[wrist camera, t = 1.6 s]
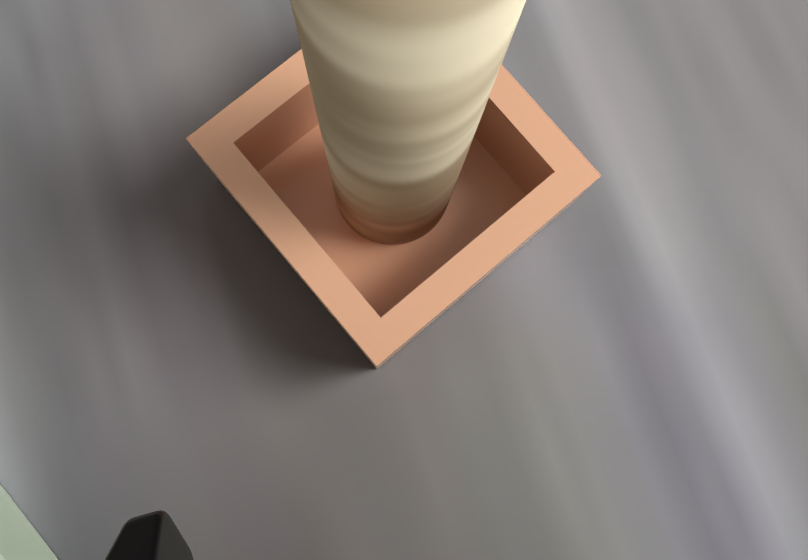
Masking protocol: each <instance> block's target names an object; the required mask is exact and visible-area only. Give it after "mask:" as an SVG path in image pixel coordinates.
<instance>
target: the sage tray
mask: <svg viewBox="0 0 808 560" xmlns="http://www.w3.org/2000/svg"><path fill="white" fill-rule="evenodd" d="M0 560H58V559H57V557H56V556H55V555H54V553H53V552H52V551H51V550H50V548H49V547H48V546H47V544H46V543H45V542H44V540H43V539H42V538H41V537H40V535H39V534H38V533H37V531H36V530H35V529H34V527H33V526H32V525H31V524H30V522H29V521H28V520H27V518H26V517H25V516H24V514H23V513H22V512H21V511H20V509H19V508H18V507H17V505H16V504H15V503H14V501H13V500H12V499H11V498H10V496H9V495H8V494H7V492H6V491H5V490H4V488H3V487H2V486H1V485H0Z"/></svg>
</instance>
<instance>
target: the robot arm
mask: <svg viewBox="0 0 808 560" xmlns="http://www.w3.org/2000/svg"><path fill="white" fill-rule="evenodd" d="M105 560H193V556H192V553H191V551H190V549H189V547H188V545H187V543H186V542H185V540H184V539H183V537H182V535H181V534H180V532H179V530H178V529H177V527H176V525H175V524H174V522H173V521H172V519H171V517H170V516H169V515H168V514H167V513H166V512H165V511H162V510H161V511H155V512H151V513H148V514H144V515H141V516H137V517H134V518H132V519H130V520H129V521H127V522H126V523H125V525H124V526H123V528H122V529H121V531H120V533H119V535H118V537H117V538H116V540H115V542H114V544H113V546H112V548H111V549H110V551H109V553H108V555H107V557H106V558H105Z"/></svg>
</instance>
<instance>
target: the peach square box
mask: <svg viewBox="0 0 808 560" xmlns="http://www.w3.org/2000/svg"><path fill="white" fill-rule="evenodd" d="M186 139H187V141H188V142H189V143H190V144H191V146H192V147H193V148H194V150H195V151H196V152H197V153H198V155H199V156H200V157H201V158H202V160H203V161H204V162H205V164H206V165H207V166H208V167H209V169H210V170H211V171H212V172H213V174H214V175H215V176H216V178H217V179H218V180H219V181H220V182H221V184H222V185H223V186H224V187H225V188H226V190H227V191H228V192H229V193H230V194H231V196H232V197H233V198H234V199H235V200H236V201H237V203H238V204H239V205H240V206H241V207H242V209H243V210H244V211H245V212H246V213H247V215H248V216H249V217H250V218H251V219H252V221H253V222H254V223H255V224H256V225H257V227H258V228H259V229H260V230H261V231H262V233H263V234H264V235H265V236H266V237H267V239H268V240H269V241H270V242H271V243H272V244H273V246H274V247H275V248H276V249H277V250H278V252H279V253H280V254H281V255H282V256H283V258H284V259H285V260H286V261H287V262H288V264H289V265H290V266H291V267H292V268H293V270H294V271H295V272H296V273H297V274H298V276H299V277H300V278H301V279H302V280H303V282H304V283H305V284H306V285H307V286H308V288H309V289H310V290H311V291H312V292H313V293H314V295H315V296H316V297H317V298H318V299H319V301H320V302H321V303H322V304H323V305H324V307H325V308H326V309H327V310H328V311H329V313H330V314H331V315H332V316H333V317H334V319H335V320H336V321H337V322H338V323H339V325H340V326H341V327H342V328H343V329H344V331H345V332H346V333H347V334H348V335H349V336H350V338H351V339H352V340H353V341H354V342H355V344H356V345H357V346H358V347H359V348H360V350H361V351H362V352H363V353H364V354H365V356H366V357H367V358H368V359H369V360H370V362H371V363H372V364H373V365H374V366H375V368H376V369H378V368H379V367H380V366H381V365H383V364H384V363H385V362H386V361H387V360H389V359H390V358H391V357H392V356H393V355H394V354H396V353H397V352H398V351H399V350H400V349H401V348H403V347H404V346H405V345H406V344H407V343H409V342H410V341H411V340H412V339H413V338H414V337H416V336H417V335H418V334H419V333H420V332H422V331H423V330H424V329H425V328H426V327H427V326H429V325H430V324H431V323H432V322H433V321H434V320H436V319H437V318H438V317H439V316H440V315H442V314H443V313H444V312H445V311H446V310H447V309H449V308H450V307H451V306H452V305H453V304H455V303H456V302H457V301H458V300H459V299H460V298H462V297H463V296H464V295H465V294H466V293H467V292H469V291H470V290H471V289H472V288H473V287H475V286H476V285H477V284H478V283H479V282H480V281H482V280H483V279H484V278H485V277H486V276H488V275H489V274H490V273H491V272H492V271H493V270H495V269H496V268H497V267H498V266H499V265H500V264H502V263H503V262H504V261H505V260H506V259H508V258H509V257H510V256H511V255H512V254H513V253H515V252H516V251H517V250H518V249H519V248H521V247H522V246H523V245H524V244H525V243H526V242H528V241H529V240H530V239H531V238H532V237H533V236H535V235H536V234H537V233H538V232H539V231H541V230H542V229H543V228H544V227H545V226H546V225H548V224H549V223H550V222H551V221H552V220H554V219H555V218H556V217H557V216H558V215H559V214H561V213H562V212H563V211H564V210H565V209H566V208H567V207H569V206H570V205H571V204H572V203H573V202H574V201H575V200H576V199H577V198H578V197H579V196H580V195H581V194H582V193H583V192H585V191H586V190H587V189H588V188H589V187H590V186H591V185H592V184H593V183H594V182H595V181H596V180H597V179H598V178H599V177H601V175H600V174H599V173H598V171H597V170H596V169H595V168H594V167H593V166H592V165H591V164H590V163H589V161H588V160H587V159H586V158H585V157H584V156H583V155H582V154H581V152H580V151H579V150H578V149H577V148H576V147H575V146H574V145H573V144H572V142H571V141H570V140H569V139H568V138H567V137H566V136H565V135H564V133H563V132H562V131H561V130H560V129H559V128H558V127H557V126H556V125H555V123H554V122H553V121H552V120H551V119H550V118H549V117H548V116H547V114H546V113H545V112H544V111H543V110H542V109H541V108H540V107H539V105H538V104H537V103H536V102H535V101H534V100H533V99H532V98H531V97H530V95H529V94H528V93H527V92H526V91H525V90H524V89H523V88H522V86H521V85H520V84H519V83H518V82H517V81H516V80H515V79H514V78H513V76H512V75H511V74H510V73H509V72H508V71H507V70H506V69H505V67H504V66H503V65H502V64H501V67H500V69H499V72H498V75H497V77H496V80H495V83H494V85H493V88H492V90H491V93H490V96H489V98H488V101H487V103H486V106H485V109H484V111H483V114H482V117H481V119H480V122H479V124H478V127H477V130H476V132H475V135H474V137H473V140H472V143H471V145H470V148H469V150H468V153H467V156H466V158H465V161H464V164H463V166H462V169H461V171H460V174H459V177H458V179H457V182H456V184H455V187H454V190H453V192H452V195H451V198H450V200H449V203H448V205H447V208H446V210H445V212H444V215H443V216H442V218H441V220H440V221H439V222H438V224H437V225H436V226H435V227H434V228H433V229H432V230H431V231H430V232H428V233H427V234H426V235H424V236H423V237H421V238H419V239H417V240H414V241H412V242H409V243H404V244H397V245H388V244H381V243H377V242H374V241H371V240H369V239H367V238H365V237H363V236H361V235H360V234H358V233H357V232H356V231H355V230H353V229H352V228H351V227H350V225H349V224H348V223H347V222H346V220H345V219H344V218H343V216H342V214H341V212H340V210H339V207H338V204H337V200H336V196H335V192H334V187H333V183H332V179H331V174H330V170H329V166H328V161H327V157H326V153H325V148H324V144H323V140H322V135H321V131H320V127H319V122H318V118H317V114H316V109H315V105H314V101H313V96H312V92H311V88H310V83H309V79H308V75H307V70H306V66H305V62H304V57H303V53H302V49H301V50H299V51H298V52H297V53H296V54H294V55H293V56H292V57H290V58H289V59H288V60H286V61H285V62H284V63H283V64H281V65H280V66H279V67H277V68H276V69H275V70H274V71H272V72H271V73H270V74H268V75H267V76H266V77H265V78H263V79H262V80H261V81H259V82H258V83H257V84H255V85H254V86H253V87H252V88H250V89H249V90H248V91H246V92H245V93H244V94H243V95H241V96H240V97H239V98H237V99H236V100H235V101H233V102H232V103H231V104H230V105H228V106H227V107H226V108H224V109H223V110H222V111H221V112H219V113H218V114H217V115H215V116H214V117H213V118H212V119H210V120H209V121H208V122H206V123H205V124H204V125H202V126H201V127H200V128H199V129H197V130H196V131H195V132H193V133H192V134H191V135H190V136H188V137H187V138H186Z"/></svg>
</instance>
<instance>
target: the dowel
mask: <svg viewBox="0 0 808 560" xmlns="http://www.w3.org/2000/svg"><path fill="white" fill-rule="evenodd" d="M290 1H291V5H292V10H293V14H294V18H295V23H296V27H297V31H298V36H299V40H300V44H301V49H302V53H303V57H304V62H305V66H306V70H307V75H308V79H309V83H310V88H311V92H312V96H313V101H314V105H315V109H316V114H317V118H318V122H319V127H320V131H321V135H322V140H323V144H324V148H325V153H326V157H327V161H328V166H329V170H330V174H331V179H332V183H333V187H334V192H335V196H336V200H337V204H338V207H339V210H340V212H341V214H342V216H343V218H344V219H345V220H346V222H347V223H348V224H349V225H350V227H351V228H352V229H353V230H355V231H356V232H357V233H358V234H360V235H361V236H363V237H365V238H367V239H369V240H371V241H374V242H377V243H381V244H388V245H397V244H404V243H409V242H412V241H414V240H417V239H419V238H421V237H423V236H424V235H426V234H427V233H428V232H430V231H431V230H432V229H433V228H434V227H435V226H436V225H437V224H438V222H439V221H440V220H441V218H442V216H443V215H444V212H445V210H446V208H447V205H448V203H449V200H450V198H451V195H452V192H453V190H454V187H455V184H456V182H457V179H458V177H459V174H460V171H461V169H462V166H463V164H464V161H465V158H466V156H467V153H468V150H469V148H470V145H471V143H472V140H473V137H474V135H475V132H476V130H477V127H478V124H479V122H480V119H481V117H482V114H483V111H484V109H485V106H486V103H487V101H488V98H489V96H490V93H491V90H492V88H493V85H494V83H495V80H496V77H497V75H498V72H499V69H500V67H501V64H502V62H503V59H504V56H505V54H506V51H507V49H508V46H509V43H510V41H511V38H512V36H513V33H514V30H515V28H516V25H517V22H518V20H519V17H520V15H521V12H522V9H523V7H524V4H525V2H526V0H290Z"/></svg>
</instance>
